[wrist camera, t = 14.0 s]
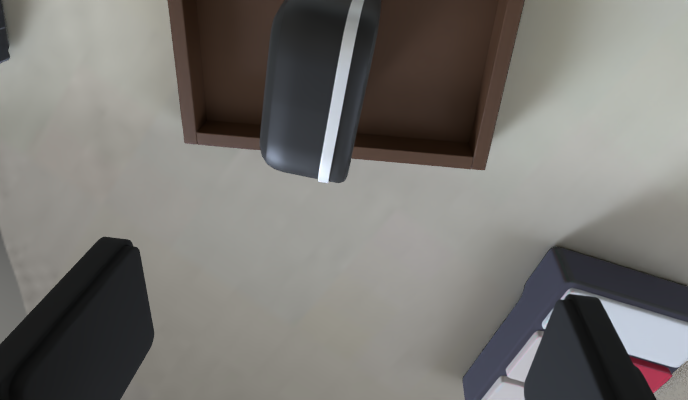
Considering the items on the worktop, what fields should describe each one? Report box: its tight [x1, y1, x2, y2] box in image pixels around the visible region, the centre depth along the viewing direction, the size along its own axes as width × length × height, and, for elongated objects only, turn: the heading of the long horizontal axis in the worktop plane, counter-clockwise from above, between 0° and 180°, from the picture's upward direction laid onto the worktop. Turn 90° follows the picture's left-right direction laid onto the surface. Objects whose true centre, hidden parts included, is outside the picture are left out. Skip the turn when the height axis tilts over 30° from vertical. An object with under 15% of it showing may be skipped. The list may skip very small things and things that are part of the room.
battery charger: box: [260, 0, 381, 183], centre depth 22 cm, size 7×4×11 cm, turn 170°
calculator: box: [463, 247, 688, 400], centre depth 35 cm, size 11×4×15 cm
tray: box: [168, 0, 525, 170], centre depth 26 cm, size 18×13×3 cm
